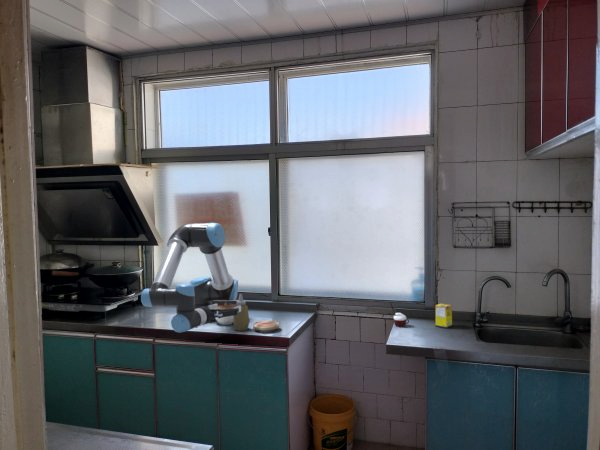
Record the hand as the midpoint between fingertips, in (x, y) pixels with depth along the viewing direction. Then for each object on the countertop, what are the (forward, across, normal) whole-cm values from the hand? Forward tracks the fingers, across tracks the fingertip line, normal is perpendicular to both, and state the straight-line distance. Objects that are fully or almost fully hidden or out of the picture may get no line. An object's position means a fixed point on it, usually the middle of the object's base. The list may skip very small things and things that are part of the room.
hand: (228, 307), depth 218 cm
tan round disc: (+15, +12, -14) cm, 24 cm away
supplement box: (+54, +92, -14) cm, 107 cm away
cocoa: (+47, +71, -14) cm, 86 cm away
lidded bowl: (+19, -15, -14) cm, 28 cm away
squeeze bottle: (+11, 0, -14) cm, 18 cm away
